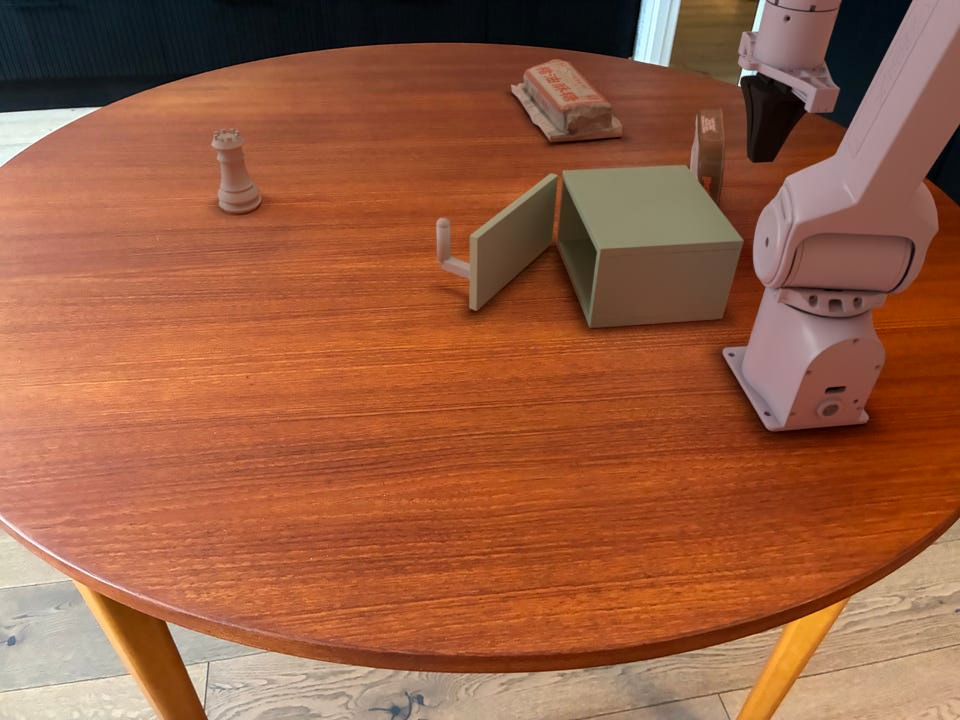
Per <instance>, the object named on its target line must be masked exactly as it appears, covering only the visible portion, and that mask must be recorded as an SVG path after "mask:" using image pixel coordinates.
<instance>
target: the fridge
mask: <svg viewBox="0 0 960 720" xmlns="http://www.w3.org/2000/svg"><path fill="white" fill-rule="evenodd" d="M560 185H561V186H560V195H559V196H560V197H559V207H558V219H557V229H556V241H555V246H556V247H557V250H558V253H559V255H560V257H561V260H562V262H563V265H564V267H565V270H566V273H567V274H568V278H569V281H570V282H571V284H572V287H573V290H574V292H575V294H576V297H577V300H578V301H579V302H578V303H579V305H580V307H581V310H582V312H583V315H584V318H585V321H586V322H587V325H588V327H589V329H598V328H599V329H600V328H612V327H627V326H640V325H641V326H643V325H655V324H658V325H659V324H672V323H685V322H699V321H714V320H722V319H724V318H723V317H724V314H725V310H726V306H727V303H728V299H729V296H730V292H731V288H732V284H733V281H734V278H735V274H736V270H737V266H738V262H739V260H740V256H741V253H742V252H741V251H742V248H743V245H744V239H743V238H742V236H741V234H739V232H738V231H737V230H736V228H735V227H734V226H733V224H732V223H731V222H730V220H729V219H728V218H727V217H726V215H725V214H724V212H723V211H722V210H721V209H720V207H719V205H718V206H717V205H716V204H715V202H714V201H713V200H712V198H711V197H710V196H709V195H708V193H707V192H706V191H705V189H704V188H703V187H702V185H701V184H700V183H699V181H698V180H697V179H696V178H695V176H694V175H693V174H692V172H691V171H690V167H688V166H687V165H686V164H675V165H671V164H670V165H651V166H650V165H649V166H629V167H609V168H588V169H586V168H585V169H567V170H566V169H565V170H562V175H561V184H560Z"/></svg>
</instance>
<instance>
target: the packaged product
mask: <svg viewBox="0 0 960 720" xmlns="http://www.w3.org/2000/svg"><path fill="white" fill-rule="evenodd" d="M522 78H523V82H520V83H518V84H516V85H515V84H510V87H511V93H512V94H513V95H514V96H515V97H517V99H518V100H519V102H520V103H521V104H522V106H523V107H524V109H525V111H526V112H527V114H528V115H529V117H530V119H531V121H532V123H533V124H534V125H536V126H538V127H539V128H540V129H541V131H542V132H543V133H544V135H545V136H546V137H547V139H548V140H549V142H550V143H559V142H560V143H561V142H573V141H585V140H596V139H607V138H619V137H623V130H624V124H621V121H620V120H619V119H618V118H617V117H616V116H615V115H614V114H613V111H612V110H613V109H612V104H611V103H610V101H608V100H607V99H606V97H605V96H604V95H603V94H601V93H600V91H599V90H598V89H596V87H594V86H593V84H592V82H590V81H589V80H588V79H587V78H586V77H585V76H584V75H583V74H581V72H580V71H578V69H577V68H576V67H575V66H574V65H573V64H572V62H570V61H565V60H562V59H560V58H556V59H552V60H549V61H546V62H544V63H540V64H537V65H534V66H531V67H529V68H527V69H526V70H525V71H524V73H523V76H522Z"/></svg>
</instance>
